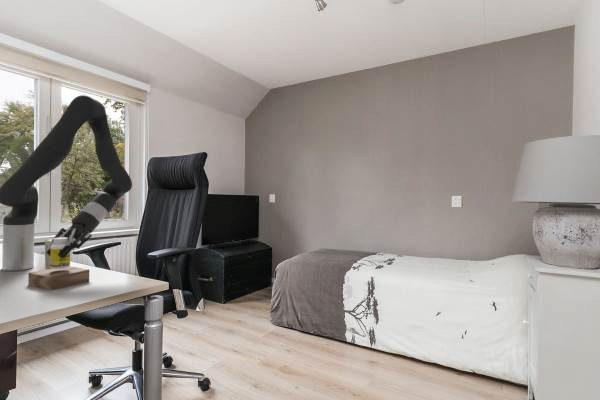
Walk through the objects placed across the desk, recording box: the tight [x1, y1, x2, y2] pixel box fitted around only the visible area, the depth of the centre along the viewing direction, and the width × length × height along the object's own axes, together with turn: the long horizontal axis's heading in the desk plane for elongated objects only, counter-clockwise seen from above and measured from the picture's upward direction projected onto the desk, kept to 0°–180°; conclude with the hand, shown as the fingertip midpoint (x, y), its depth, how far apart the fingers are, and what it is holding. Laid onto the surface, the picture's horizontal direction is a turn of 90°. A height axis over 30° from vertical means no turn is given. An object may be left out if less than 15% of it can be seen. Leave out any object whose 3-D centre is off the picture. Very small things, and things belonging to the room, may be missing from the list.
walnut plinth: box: [27, 265, 90, 291], centre depth 111 cm, size 12×12×4 cm
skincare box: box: [44, 238, 54, 270], centre depth 124 cm, size 6×4×12 cm
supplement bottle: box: [50, 237, 71, 269], centre depth 111 cm, size 5×5×10 cm
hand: (54, 255), depth 109 cm, fingers closed on supplement bottle, 5 cm apart
